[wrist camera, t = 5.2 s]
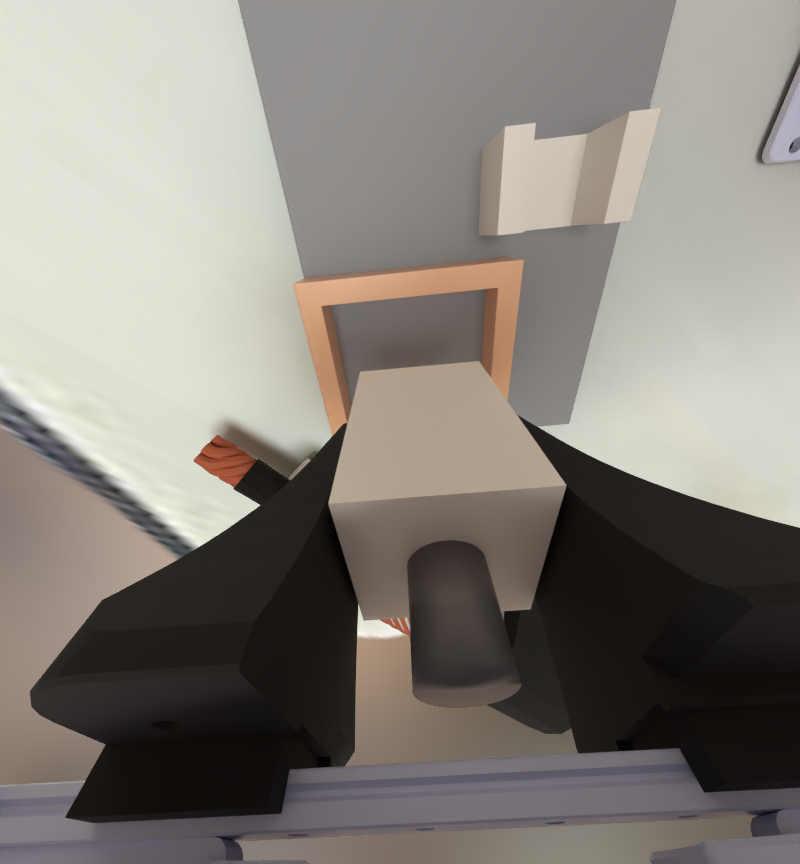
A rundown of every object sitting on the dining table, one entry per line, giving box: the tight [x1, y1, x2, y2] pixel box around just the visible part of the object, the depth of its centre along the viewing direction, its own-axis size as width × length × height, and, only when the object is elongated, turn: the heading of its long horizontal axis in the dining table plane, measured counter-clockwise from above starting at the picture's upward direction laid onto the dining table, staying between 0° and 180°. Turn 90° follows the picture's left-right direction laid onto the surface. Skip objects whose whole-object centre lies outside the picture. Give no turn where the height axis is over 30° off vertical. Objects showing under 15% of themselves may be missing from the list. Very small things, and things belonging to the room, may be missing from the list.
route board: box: [238, 0, 676, 426], centre depth 14 cm, size 15×24×1 cm, turn 5°
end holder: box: [293, 257, 524, 436], centre depth 16 cm, size 10×9×2 cm
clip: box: [478, 108, 661, 236], centre depth 12 cm, size 5×3×3 cm, turn 95°
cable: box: [194, 435, 571, 734], centre depth 24 cm, size 10×34×10 cm, turn 46°
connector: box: [328, 361, 567, 708], centre depth 8 cm, size 4×4×8 cm
